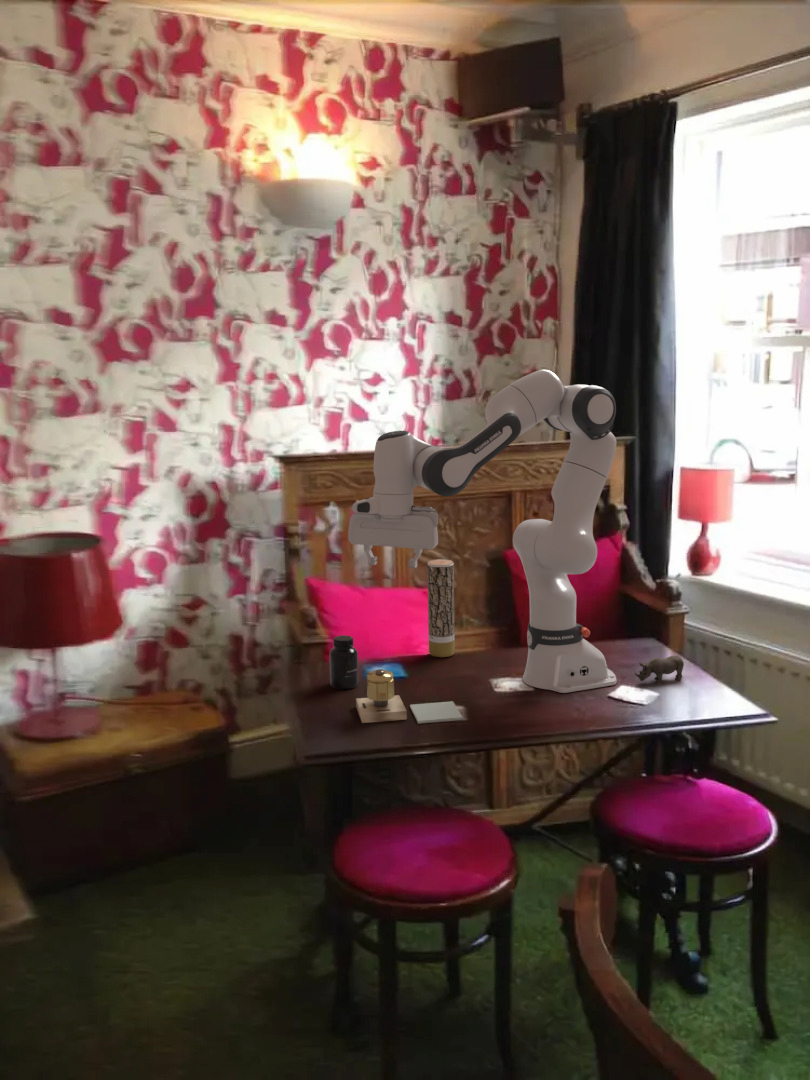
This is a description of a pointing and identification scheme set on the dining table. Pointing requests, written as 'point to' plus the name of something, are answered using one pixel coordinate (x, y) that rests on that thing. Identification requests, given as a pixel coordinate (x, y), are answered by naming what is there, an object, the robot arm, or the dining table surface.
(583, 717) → the dining table surface
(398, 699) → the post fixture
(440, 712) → the coaster
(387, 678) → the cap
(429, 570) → the paper tube
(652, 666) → the rhino figurine
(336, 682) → the supplement bottle
